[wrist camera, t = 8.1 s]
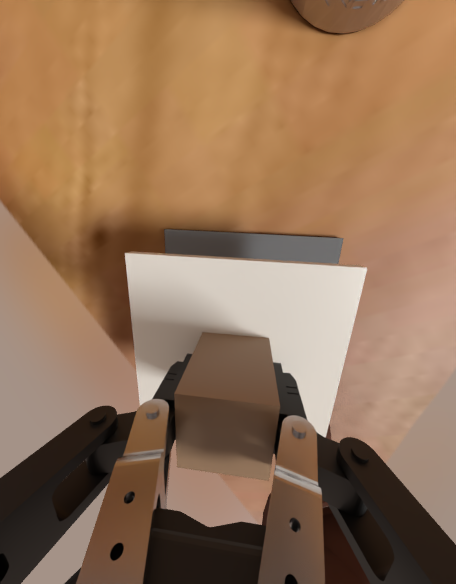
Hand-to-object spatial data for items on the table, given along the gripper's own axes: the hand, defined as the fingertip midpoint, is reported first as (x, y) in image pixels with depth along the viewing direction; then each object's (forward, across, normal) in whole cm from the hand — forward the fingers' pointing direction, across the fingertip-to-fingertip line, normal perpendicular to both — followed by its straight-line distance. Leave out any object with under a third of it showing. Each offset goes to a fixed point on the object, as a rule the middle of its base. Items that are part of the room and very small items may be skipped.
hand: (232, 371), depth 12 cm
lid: (+2, 0, 0) cm, 2 cm away
